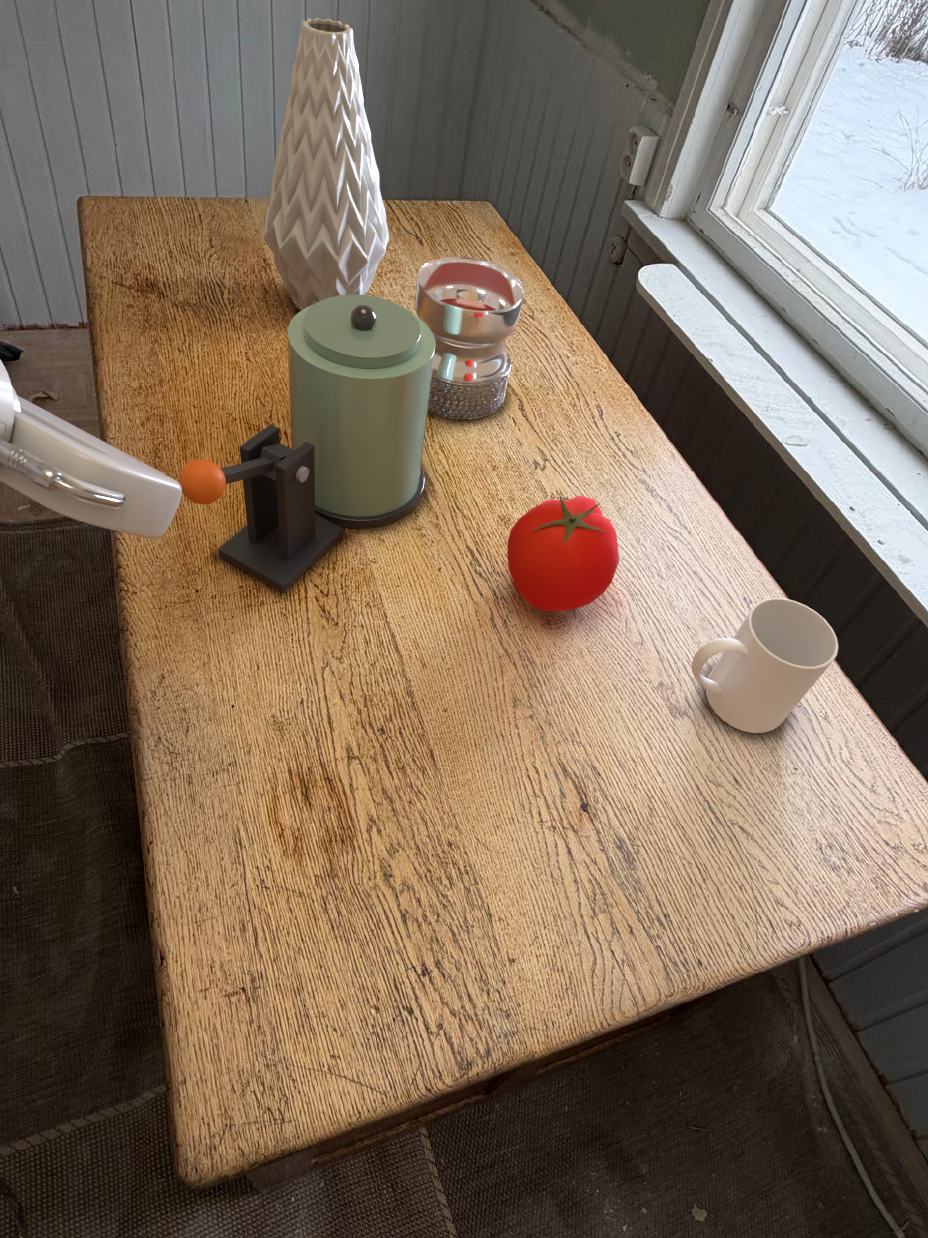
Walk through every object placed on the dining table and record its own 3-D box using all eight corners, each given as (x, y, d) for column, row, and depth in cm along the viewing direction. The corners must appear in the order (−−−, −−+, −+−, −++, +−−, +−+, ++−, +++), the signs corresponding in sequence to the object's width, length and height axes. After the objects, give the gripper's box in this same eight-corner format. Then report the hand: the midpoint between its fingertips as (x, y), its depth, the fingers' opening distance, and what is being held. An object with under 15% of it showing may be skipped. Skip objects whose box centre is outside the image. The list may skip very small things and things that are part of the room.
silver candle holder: (416, 421, 96) (428, 311, 85) (391, 341, 107) (399, 234, 96) (515, 419, 100) (539, 312, 88) (481, 341, 110) (499, 238, 99)
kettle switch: (201, 516, 62) (208, 474, 60) (166, 496, 63) (172, 455, 61) (298, 484, 73) (307, 449, 71) (268, 469, 74) (275, 433, 72)
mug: (761, 663, 78) (810, 594, 70) (798, 729, 74) (855, 664, 66) (651, 674, 76) (690, 604, 68) (683, 745, 71) (728, 678, 63)
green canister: (374, 549, 81) (386, 372, 65) (258, 488, 85) (243, 306, 69) (448, 475, 90) (474, 305, 75) (341, 423, 94) (344, 250, 78)
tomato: (619, 571, 84) (650, 500, 76) (579, 650, 76) (608, 579, 69) (526, 530, 86) (546, 457, 79) (478, 602, 78) (495, 529, 71)
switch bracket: (283, 593, 76) (277, 493, 66) (218, 557, 78) (203, 454, 68) (343, 536, 82) (346, 437, 72) (282, 504, 84) (277, 403, 74)
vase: (358, 348, 105) (369, 61, 80) (245, 314, 107) (222, 22, 82) (402, 295, 116) (423, 27, 91) (299, 264, 117) (292, -7, 92)
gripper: (95, 432, 36) (250, 484, 50) (-191, 279, 41) (20, 364, 55) (44, 552, 37) (210, 572, 51) (-232, 388, 42) (-14, 446, 55)
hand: (110, 463), depth 53 cm, fingers open, 8 cm apart
